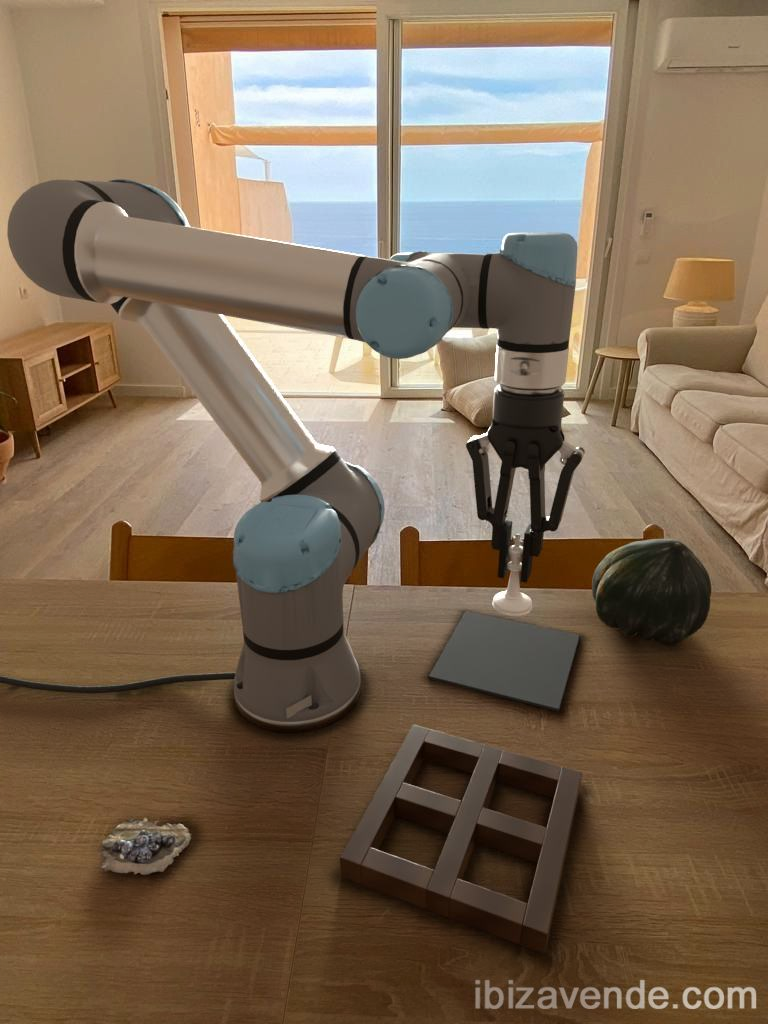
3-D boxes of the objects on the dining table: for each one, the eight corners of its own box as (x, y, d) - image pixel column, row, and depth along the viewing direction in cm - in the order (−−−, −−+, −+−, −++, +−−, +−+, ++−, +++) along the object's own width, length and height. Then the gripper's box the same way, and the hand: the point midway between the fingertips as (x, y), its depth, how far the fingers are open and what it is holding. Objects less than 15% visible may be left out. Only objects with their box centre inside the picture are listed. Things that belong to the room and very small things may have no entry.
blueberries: (101, 831, 66) (97, 816, 65) (187, 806, 69) (184, 792, 68) (102, 891, 60) (98, 876, 59) (196, 862, 63) (193, 847, 62)
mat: (428, 678, 86) (428, 676, 86) (465, 613, 100) (465, 610, 100) (558, 711, 81) (559, 709, 80) (579, 637, 94) (579, 635, 94)
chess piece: (508, 620, 84) (513, 547, 80) (484, 601, 88) (488, 530, 84) (540, 610, 86) (547, 537, 82) (516, 591, 90) (521, 522, 86)
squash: (586, 554, 104) (608, 515, 90) (690, 565, 102) (729, 526, 88) (584, 648, 98) (606, 621, 85) (694, 661, 96) (735, 635, 83)
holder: (340, 877, 61) (339, 857, 60) (412, 741, 76) (412, 724, 75) (545, 954, 55) (547, 934, 54) (579, 790, 70) (582, 771, 69)
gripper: (451, 387, 75) (445, 577, 85) (596, 401, 69) (572, 602, 79) (471, 372, 81) (463, 550, 91) (605, 383, 76) (582, 572, 85)
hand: (514, 574), depth 85 cm, fingers closed on chess piece, 2 cm apart
